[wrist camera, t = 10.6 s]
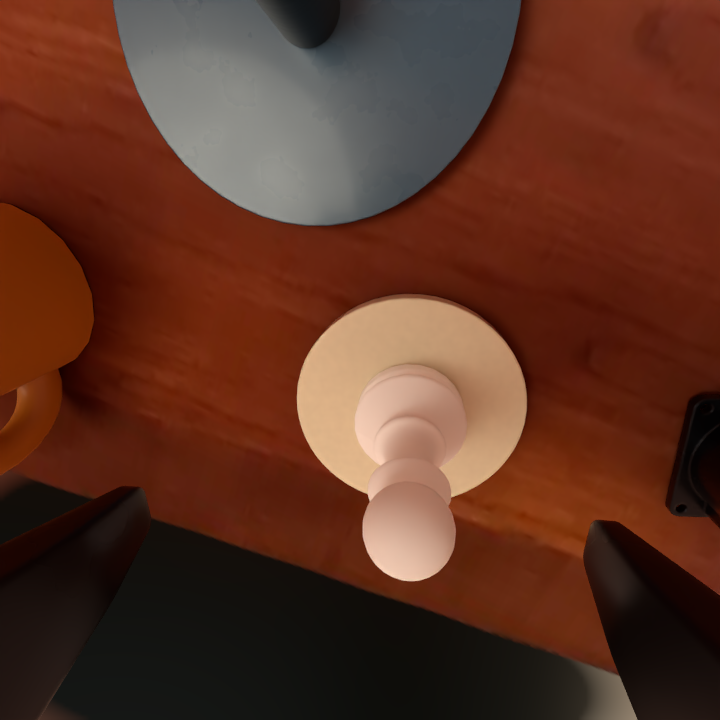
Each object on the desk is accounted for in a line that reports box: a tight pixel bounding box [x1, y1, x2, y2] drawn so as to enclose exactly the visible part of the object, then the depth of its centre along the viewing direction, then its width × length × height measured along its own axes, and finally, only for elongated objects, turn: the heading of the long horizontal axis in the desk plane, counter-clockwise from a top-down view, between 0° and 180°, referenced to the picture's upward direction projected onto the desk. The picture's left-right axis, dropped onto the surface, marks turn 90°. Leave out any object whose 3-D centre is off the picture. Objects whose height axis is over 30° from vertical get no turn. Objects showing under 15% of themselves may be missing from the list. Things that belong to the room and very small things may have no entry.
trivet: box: [297, 294, 527, 497], centre depth 20 cm, size 11×11×1 cm
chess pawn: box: [355, 364, 467, 581], centre depth 15 cm, size 5×5×9 cm
